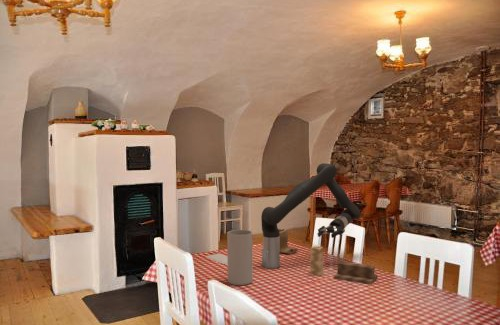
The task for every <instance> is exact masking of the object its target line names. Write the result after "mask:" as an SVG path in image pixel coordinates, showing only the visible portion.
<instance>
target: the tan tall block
mask: <svg viewBox="0 0 500 325" xmlns="http://www.w3.org/2000/svg"><path fill="white" fill-rule="evenodd" d="M309 264H310V275H312V274H313V275H314V276H319V275H320V276H321V275H322V274H324V247H323V246H318V245H313V246H312V247H310V262H309ZM313 275H312V276H313Z"/></svg>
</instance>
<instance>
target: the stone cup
mask: <svg viewBox="0 0 500 325" xmlns="http://www.w3.org/2000/svg"><path fill="white" fill-rule="evenodd" d="M278 230H279V232H280V253H282V254H288V255H293V254H296V253H297V252H298V251H299V250H298V248H296V247H295V248H294V247H290V246H289V245H288V241H289V233H288V230H287V228H278Z"/></svg>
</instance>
